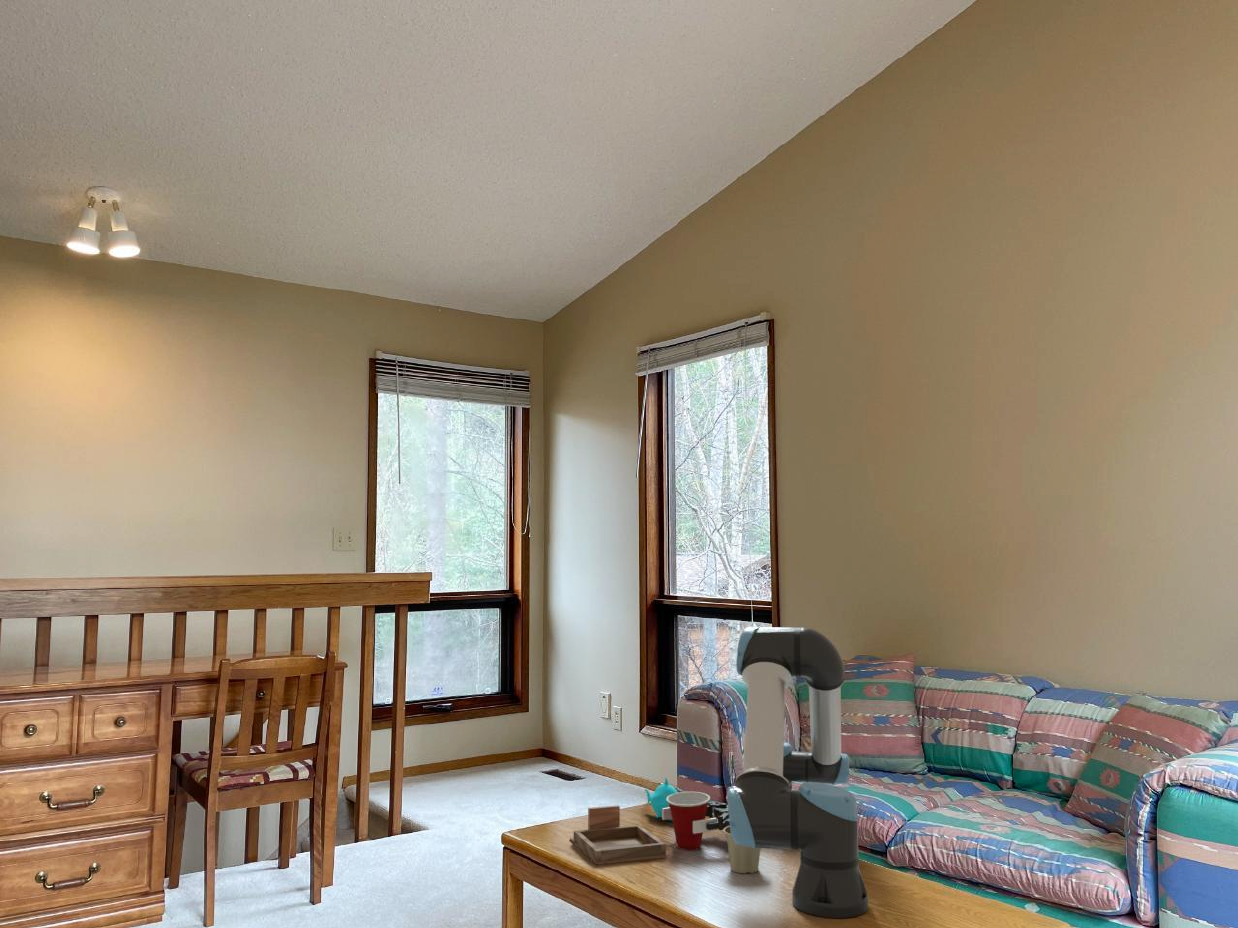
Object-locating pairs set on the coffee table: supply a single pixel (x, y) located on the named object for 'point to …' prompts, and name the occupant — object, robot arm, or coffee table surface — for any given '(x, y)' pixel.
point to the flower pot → (742, 855)
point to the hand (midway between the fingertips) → (677, 820)
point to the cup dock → (616, 838)
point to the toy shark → (660, 797)
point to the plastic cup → (687, 817)
